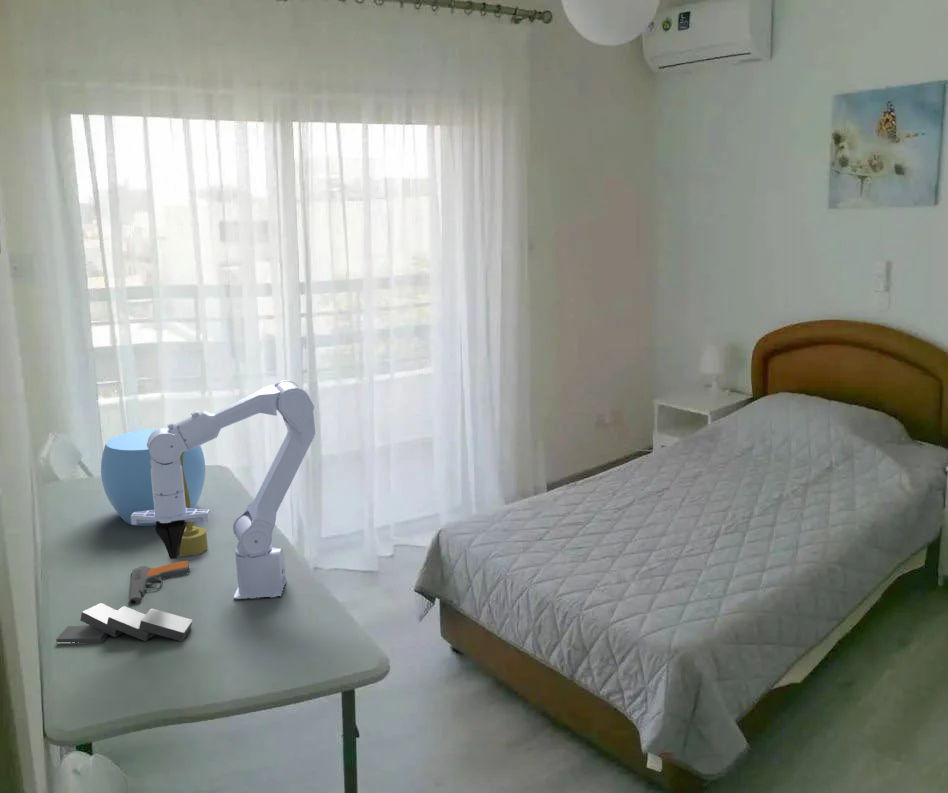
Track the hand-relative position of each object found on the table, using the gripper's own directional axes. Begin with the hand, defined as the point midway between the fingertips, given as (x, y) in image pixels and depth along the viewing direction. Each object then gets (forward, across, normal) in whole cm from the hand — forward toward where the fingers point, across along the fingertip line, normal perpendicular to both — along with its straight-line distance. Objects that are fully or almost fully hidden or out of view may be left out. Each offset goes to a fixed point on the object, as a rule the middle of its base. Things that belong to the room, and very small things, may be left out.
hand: (174, 556), depth 164 cm
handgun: (+11, -7, +11) cm, 17 cm away
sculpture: (+11, -5, +28) cm, 30 cm away
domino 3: (+10, +5, -12) cm, 16 cm away
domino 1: (+9, -7, -10) cm, 16 cm away
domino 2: (+10, -1, -12) cm, 15 cm away
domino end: (+10, -10, -11) cm, 18 cm away
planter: (+11, -20, +54) cm, 59 cm away
